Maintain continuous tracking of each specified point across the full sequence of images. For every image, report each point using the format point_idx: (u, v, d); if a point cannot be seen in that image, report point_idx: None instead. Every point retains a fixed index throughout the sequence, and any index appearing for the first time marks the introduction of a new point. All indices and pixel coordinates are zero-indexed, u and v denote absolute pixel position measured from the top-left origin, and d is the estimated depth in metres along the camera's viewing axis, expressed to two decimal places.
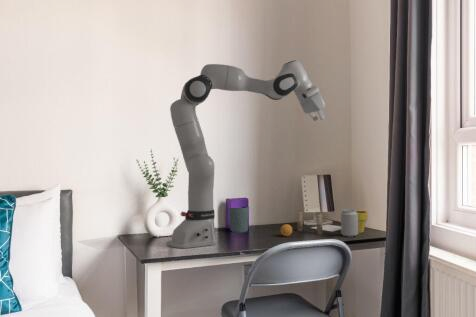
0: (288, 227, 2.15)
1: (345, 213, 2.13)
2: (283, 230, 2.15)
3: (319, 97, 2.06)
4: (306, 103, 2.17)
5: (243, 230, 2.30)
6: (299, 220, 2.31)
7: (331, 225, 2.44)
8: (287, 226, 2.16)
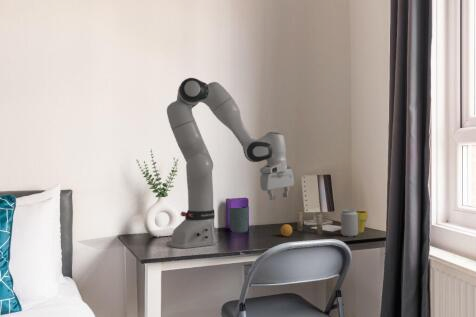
0: (288, 227, 2.15)
1: (345, 213, 2.13)
2: (283, 230, 2.15)
3: (266, 179, 2.04)
4: None
5: (243, 230, 2.30)
6: (299, 220, 2.31)
7: (331, 225, 2.44)
8: (287, 226, 2.16)
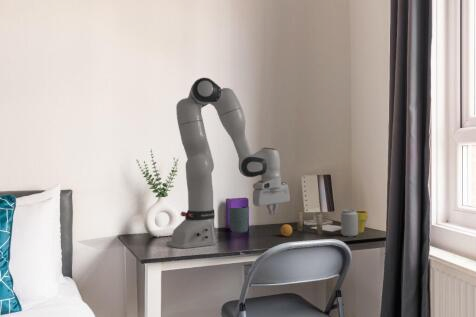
0: (288, 227, 2.15)
1: (345, 213, 2.13)
2: (283, 230, 2.15)
3: (257, 194, 2.04)
4: None
5: (243, 230, 2.30)
6: (299, 220, 2.31)
7: (331, 225, 2.44)
8: (287, 226, 2.16)
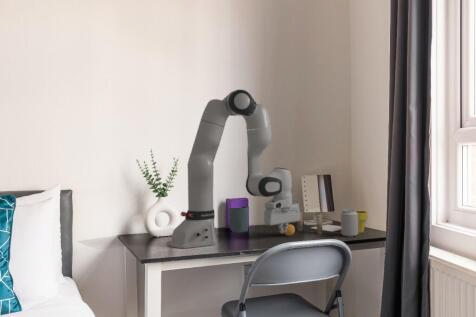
0: (292, 226, 2.17)
1: (345, 213, 2.13)
2: None
3: (269, 214, 2.08)
4: None
5: (243, 230, 2.30)
6: (299, 220, 2.31)
7: (331, 225, 2.44)
8: (291, 225, 2.17)
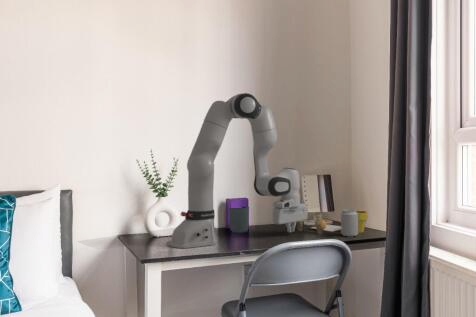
0: None
1: (345, 213, 2.13)
2: (323, 220, 2.32)
3: (277, 213, 2.12)
4: None
5: (243, 230, 2.30)
6: None
7: (331, 225, 2.44)
8: None
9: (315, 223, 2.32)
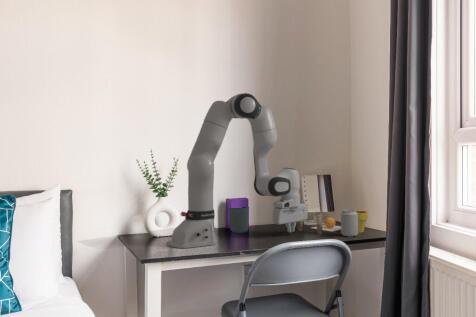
0: (331, 225, 2.34)
1: (345, 213, 2.13)
2: None
3: (277, 213, 2.12)
4: None
5: (243, 230, 2.30)
6: None
7: None
8: (329, 225, 2.34)
9: None
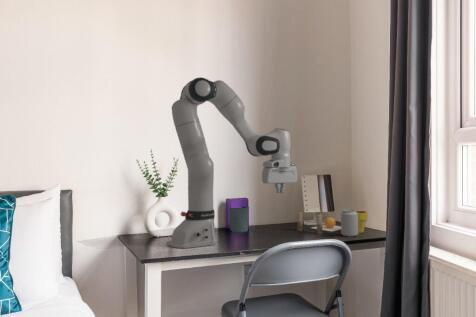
0: (331, 225, 2.34)
1: (345, 213, 2.13)
2: None
3: (267, 172, 2.13)
4: None
5: (243, 230, 2.30)
6: (299, 220, 2.31)
7: None
8: (329, 225, 2.34)
9: None
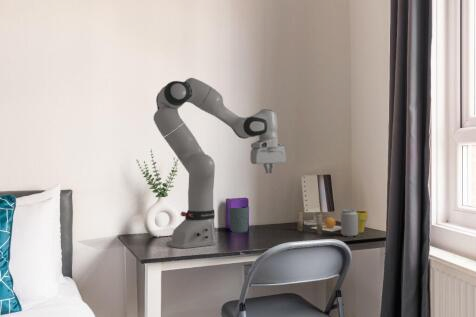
0: (331, 225, 2.34)
1: (345, 213, 2.13)
2: None
3: (255, 152, 2.15)
4: None
5: (243, 230, 2.30)
6: (299, 220, 2.31)
7: None
8: (329, 225, 2.34)
9: None
